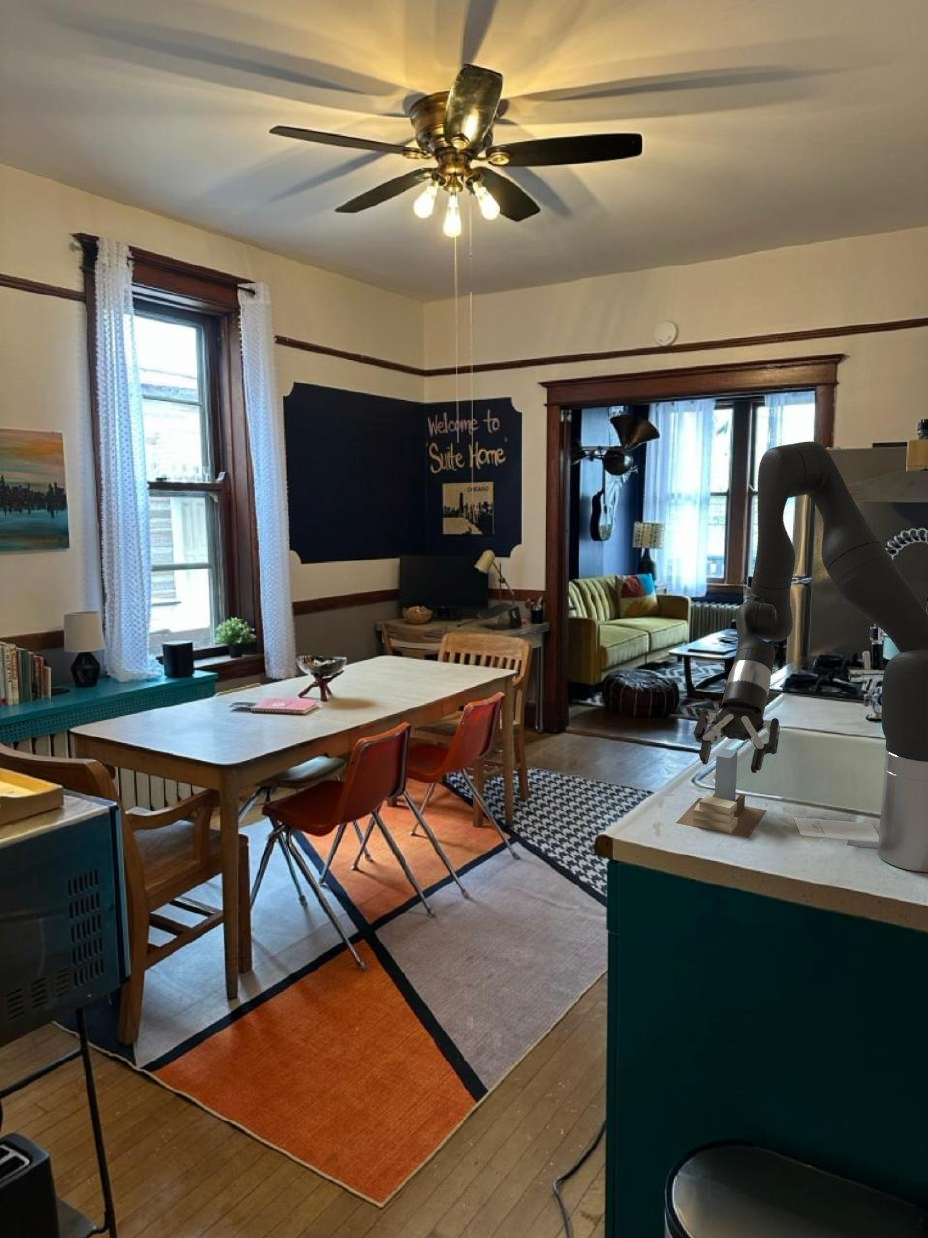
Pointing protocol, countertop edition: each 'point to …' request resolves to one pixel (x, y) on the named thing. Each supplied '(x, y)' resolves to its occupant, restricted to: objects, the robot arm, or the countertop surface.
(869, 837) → the external hard drive
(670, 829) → the countertop surface
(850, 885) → the countertop surface
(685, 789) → the countertop surface
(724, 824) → the birch offcut stack
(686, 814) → the walnut stand
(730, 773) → the slate-blue block
